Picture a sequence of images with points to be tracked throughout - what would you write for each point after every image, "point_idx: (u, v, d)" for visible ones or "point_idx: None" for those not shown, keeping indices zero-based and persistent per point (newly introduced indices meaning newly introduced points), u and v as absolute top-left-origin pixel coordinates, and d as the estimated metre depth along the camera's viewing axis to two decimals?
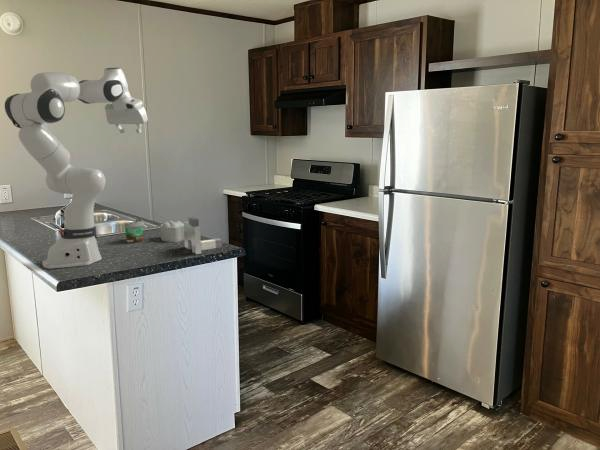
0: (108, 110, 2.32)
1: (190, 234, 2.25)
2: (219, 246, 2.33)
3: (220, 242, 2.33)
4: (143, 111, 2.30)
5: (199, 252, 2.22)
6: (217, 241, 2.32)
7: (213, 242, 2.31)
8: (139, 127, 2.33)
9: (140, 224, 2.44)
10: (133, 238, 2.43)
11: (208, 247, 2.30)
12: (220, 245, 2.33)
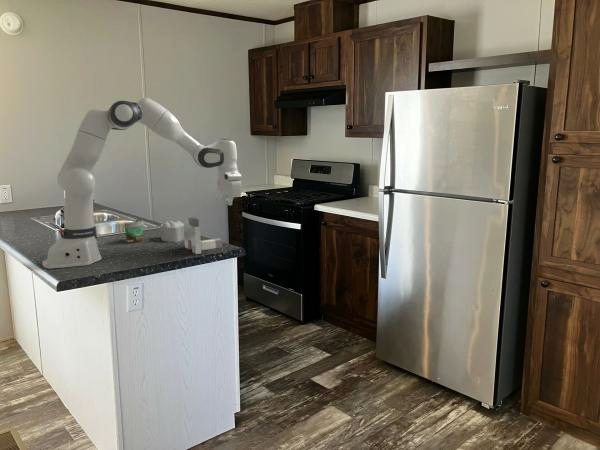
0: (218, 178, 2.37)
1: (190, 234, 2.25)
2: (219, 246, 2.33)
3: (220, 242, 2.33)
4: (237, 185, 2.24)
5: (199, 252, 2.22)
6: (217, 241, 2.32)
7: (213, 242, 2.31)
8: (229, 199, 2.30)
9: (140, 224, 2.44)
10: (133, 238, 2.43)
11: (208, 247, 2.30)
12: (220, 245, 2.33)
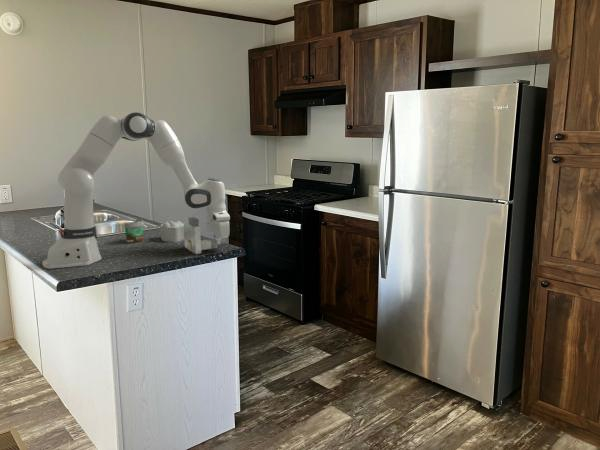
0: (207, 217, 2.37)
1: (190, 234, 2.25)
2: (214, 246, 2.31)
3: (215, 242, 2.31)
4: (226, 226, 2.24)
5: (199, 252, 2.22)
6: (212, 241, 2.31)
7: (208, 243, 2.30)
8: (217, 238, 2.31)
9: (140, 224, 2.44)
10: (133, 238, 2.43)
11: (203, 247, 2.29)
12: (215, 245, 2.32)
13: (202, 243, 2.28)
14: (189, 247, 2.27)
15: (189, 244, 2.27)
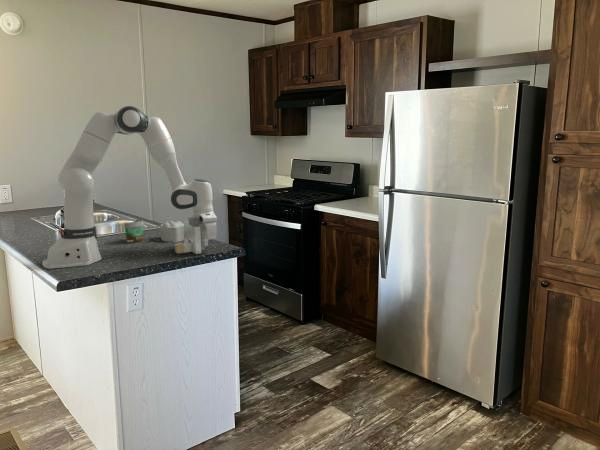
0: None
1: (190, 234, 2.25)
2: (202, 248, 2.28)
3: (203, 244, 2.28)
4: (212, 227, 2.21)
5: (199, 252, 2.22)
6: None
7: None
8: (204, 240, 2.28)
9: (140, 224, 2.44)
10: (133, 238, 2.43)
11: (190, 249, 2.25)
12: (203, 247, 2.28)
13: (189, 245, 2.25)
14: (176, 249, 2.24)
15: (176, 246, 2.24)
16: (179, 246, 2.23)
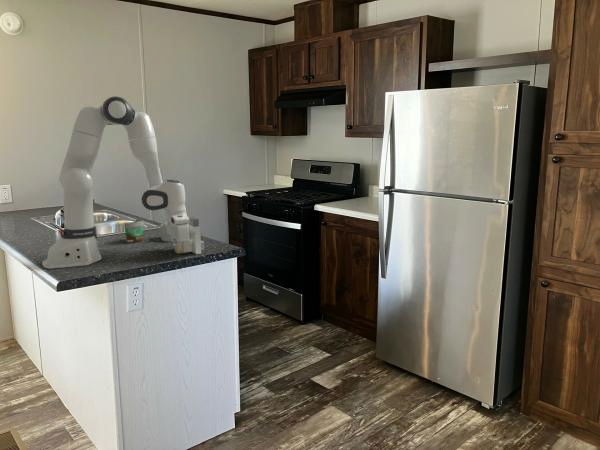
0: None
1: (190, 234, 2.25)
2: (202, 248, 2.28)
3: (203, 244, 2.28)
4: (184, 229, 2.15)
5: (199, 252, 2.22)
6: None
7: None
8: (178, 243, 2.20)
9: (140, 224, 2.44)
10: (133, 238, 2.43)
11: (190, 249, 2.26)
12: (203, 247, 2.28)
13: (189, 245, 2.25)
14: (175, 249, 2.24)
15: (175, 246, 2.24)
16: None
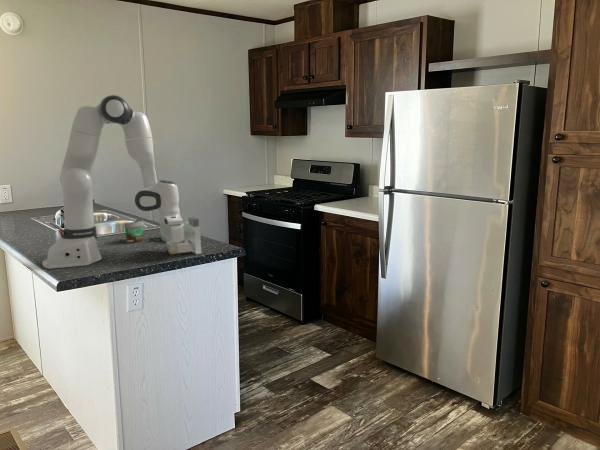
0: None
1: (190, 234, 2.25)
2: None
3: None
4: (178, 230, 2.13)
5: (199, 252, 2.22)
6: None
7: (189, 245, 2.25)
8: (171, 244, 2.19)
9: (140, 224, 2.44)
10: (133, 238, 2.43)
11: (183, 250, 2.24)
12: None
13: (182, 246, 2.24)
14: (169, 250, 2.23)
15: (169, 247, 2.22)
16: None
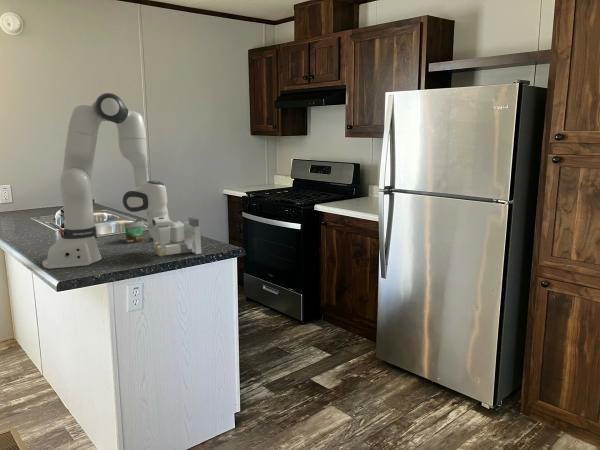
0: None
1: (190, 234, 2.25)
2: (184, 251, 2.24)
3: (185, 247, 2.24)
4: (166, 231, 2.11)
5: (199, 252, 2.22)
6: (182, 246, 2.24)
7: (177, 247, 2.23)
8: (161, 246, 2.15)
9: (140, 224, 2.44)
10: (133, 238, 2.43)
11: (172, 251, 2.22)
12: (185, 250, 2.25)
13: (171, 247, 2.21)
14: (157, 251, 2.20)
15: (157, 248, 2.20)
16: None
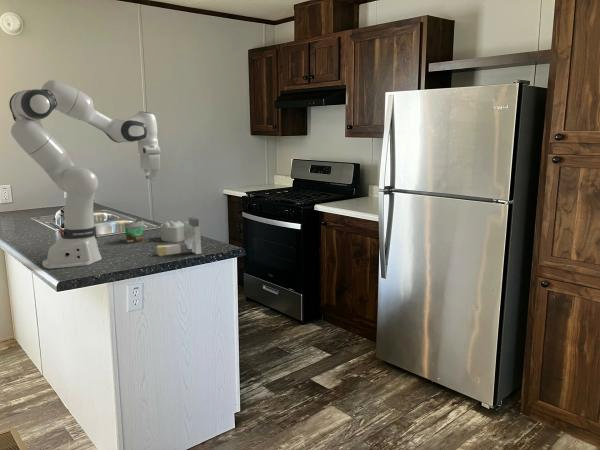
0: (140, 153, 2.32)
1: (190, 234, 2.25)
2: (184, 251, 2.24)
3: (185, 247, 2.24)
4: (156, 159, 2.20)
5: (199, 252, 2.22)
6: (182, 246, 2.24)
7: (177, 247, 2.23)
8: (151, 174, 2.23)
9: (140, 224, 2.44)
10: (133, 238, 2.43)
11: (172, 251, 2.22)
12: (185, 250, 2.25)
13: (171, 247, 2.21)
14: (157, 251, 2.20)
15: (157, 248, 2.20)
16: (161, 248, 2.19)
